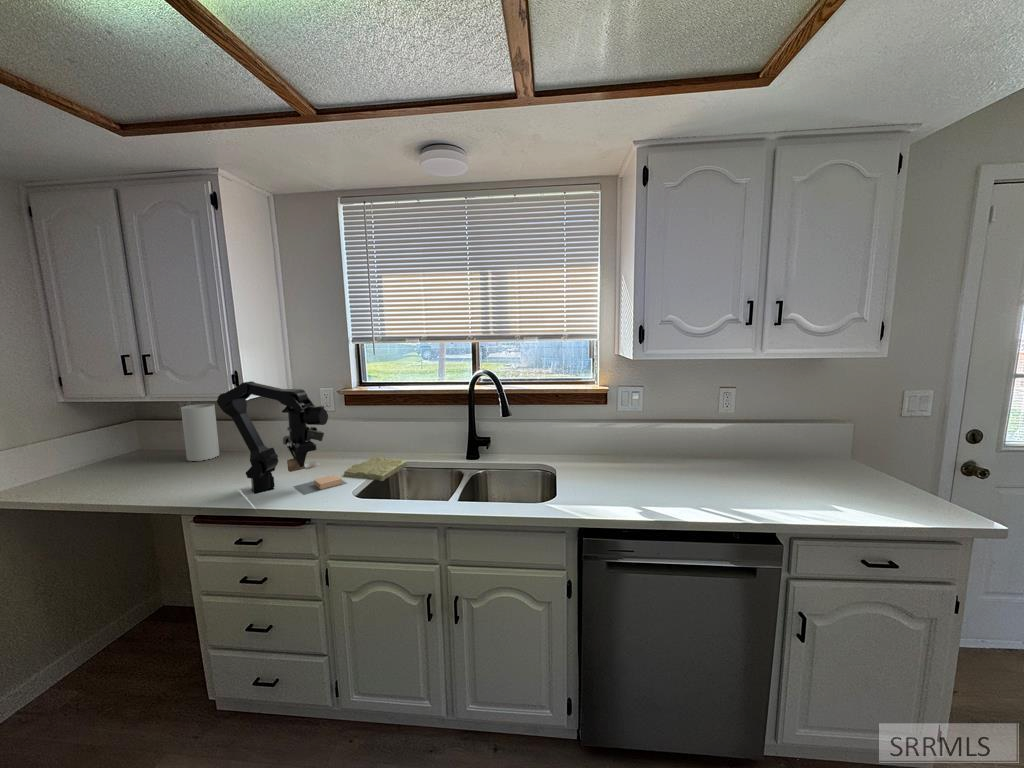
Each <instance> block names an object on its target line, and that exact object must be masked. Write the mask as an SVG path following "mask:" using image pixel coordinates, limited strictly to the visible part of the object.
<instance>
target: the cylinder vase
mask: <svg viewBox="0 0 1024 768" xmlns="http://www.w3.org/2000/svg"><path fill="white" fill-rule="evenodd" d="M215 407H216V405H215V404H214V403H200V404H198V403H197V404H189V405H185V406H182V407H180V409H181V410H180V411H181V418H182V419H181V421H182V429H183V439H184V446H185V448H184V449H185V454H186V455H185V457H186V460H187V461H188V462H192V461H197V462H204V461H203V460H205V461H209V460H208V459H210V460H212V458H213V459H215V457H216V458H218V457H219V456H220V447H219V445H220V444H219V436H218V427H217V417H216V408H215ZM217 456H218V457H217Z"/></svg>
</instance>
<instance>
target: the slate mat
mask: <svg viewBox="0 0 1024 768" xmlns="http://www.w3.org/2000/svg"><path fill="white" fill-rule="evenodd" d="M346 484H348V482H346V481H345V480H343V479H342V484H340V485H336V486H333V487H329V488H325V489H319V488H318V487H317V486H315V485H314V480H313V481H310V482H305V483H301V484H297V485H293V486H292V487H293V488H294V489H295V490H297V491H298V492H299V493H301V494H302V495H303V496H305V495H309V494H314V493H317V492H321V491H323V490H329V489H331V488H336V487H339V486H343V485H346Z"/></svg>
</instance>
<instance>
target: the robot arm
mask: <svg viewBox="0 0 1024 768" xmlns="http://www.w3.org/2000/svg"><path fill="white" fill-rule="evenodd" d="M252 395H253V396H257V397H262V398H264V399H265V398H266V399H269V400H270V399H271V400H275V401H277V402H279V403H280V404H281V405H283V406H285V407H284V408H283V409H282V410H281V413H284V414H285V413H286V414H287V417H288V426H287V429H286V430H287V431H288V433H289V435H284V437H283V438H282V444H283V445H284V446H286V445H288V446H286V447H287V450H288V452H289V454H291V456H292V459H294V458H296V460H297V462H298V464H299V466H300V467H303V466H304V464H306V463H305V462H306V458H307V454H308V453H309V452H313V451H317V444H316V443H315V442H313V441H311V440H314V441H318V442H322V441H323V438H324V436H325V432H323V431H321V430H318V428H317V427H316V426H324V425H327V422H328V419H329V414H328V412H327V410H326V409H325V406H324V405H318V406H317V405H316V406H315V404H314V402H313V401H312V400H311V399H310V397H308V393H307V392H306V391H305V390H304V389H300V388H280V387H275V386H271V385H268V384H267V385H266V384H262V383H258V382H255V381H252V380H251V381H246V382H245V381H244V382H242V383H240V384H238V385H237V386H236V387H234V388H232V389H230V390H228V391H227V392H224V393H220V394H219V395H218V396H217V399H216V402H217V403H216V404H217V405H218V407H219V409H221V411H222V412H223V413H224V414H225V415H227V416H229V417H230V418H231V419H232V421H233V422H234V424H235V427H236V429H238V432H239V433H240V435H241V438H242V440H243V441H244V443H245V445H246V446H247V448H248V450H249V453H250V454H249V462H250V464H251V465H250V467H249V468H248V469H247V471H246V472H245V476H246V477H247V479H250V480H251V482H250V483H251V488H250V491H251V492H252V493H253V494H254V495H257V494H260V493H265V492H268V491H270V492H271V491H274V490H275V477H274V476H273V473H272V472H275V471H276V467H277V466H278V465H279V464H278V463H279V455H278V454H277V453H276V450H275V448H273V447H270V448H269V447H267V446H266V445H265V444H264V442H263V440H262V438H261V437H260V434H259V433H258V431H257V429H256V427H255V425H254V423H253V422H252V419H251V418H250V416H249V414H248V412H247V408H248V402H247V399H249V397H251V396H252ZM308 425H313V426H311V427H309V426H308Z"/></svg>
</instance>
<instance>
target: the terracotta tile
mask: <svg viewBox="0 0 1024 768" xmlns="http://www.w3.org/2000/svg"><path fill="white" fill-rule="evenodd" d="M342 480H343V478H341V477H340V476H338V475H336V474H331V475H326V476H323V477H319V478H315V479H313V481H314V485H315V486H317V487H318V488H319V489H325V488H329V487H333V486H336V485H340V484H342ZM340 486H341V485H340ZM336 487H337V486H336ZM333 488H334V487H333ZM329 489H330V488H329ZM325 490H326V489H325Z"/></svg>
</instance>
